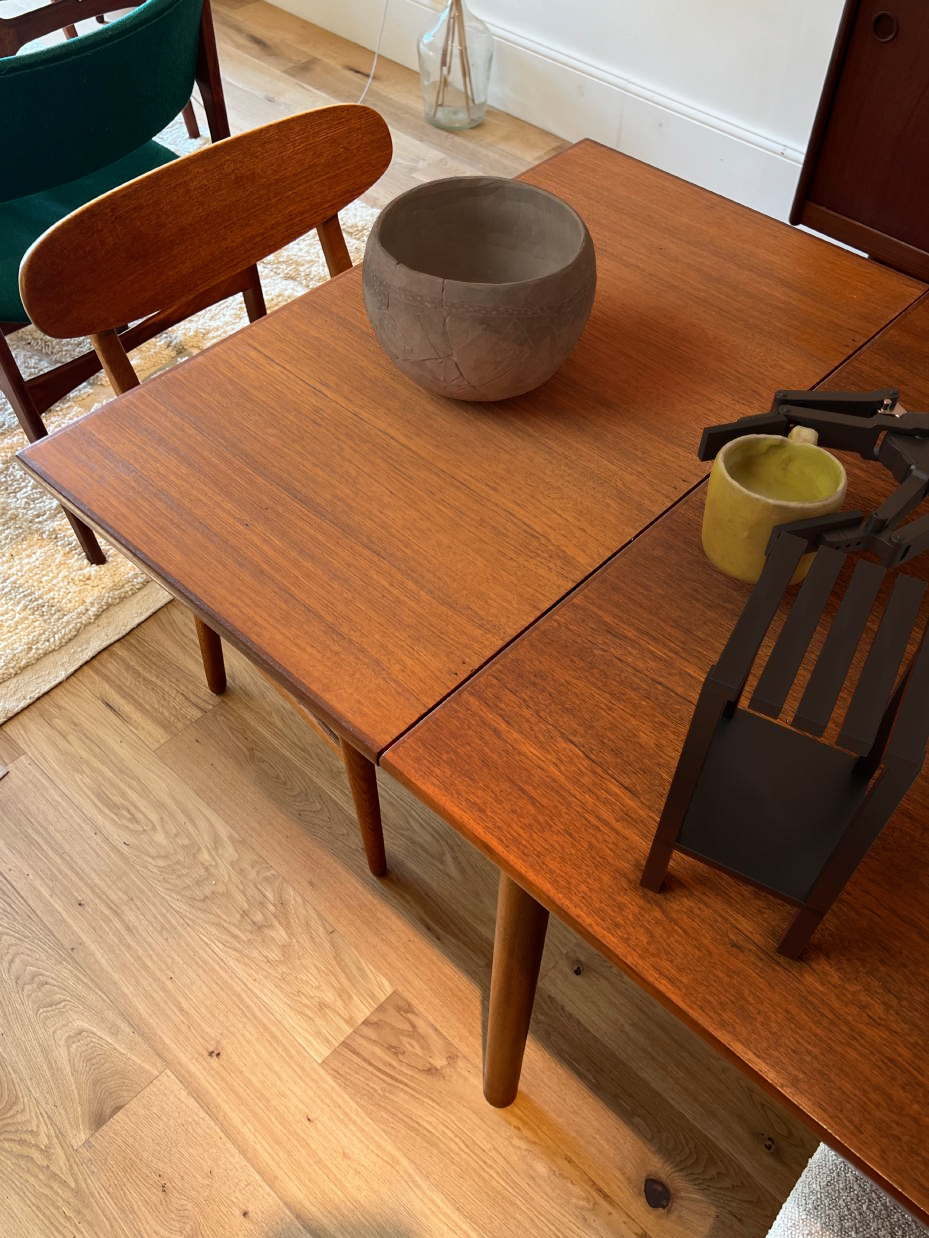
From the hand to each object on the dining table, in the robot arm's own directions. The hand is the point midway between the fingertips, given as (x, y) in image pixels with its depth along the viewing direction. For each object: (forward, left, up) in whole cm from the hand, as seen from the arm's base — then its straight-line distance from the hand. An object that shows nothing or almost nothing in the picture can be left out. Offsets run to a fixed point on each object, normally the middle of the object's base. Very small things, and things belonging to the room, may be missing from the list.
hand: (735, 492), depth 71 cm
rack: (-10, +21, -9) cm, 25 cm away
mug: (-3, -3, -6) cm, 7 cm away
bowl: (+29, -15, -9) cm, 34 cm away
